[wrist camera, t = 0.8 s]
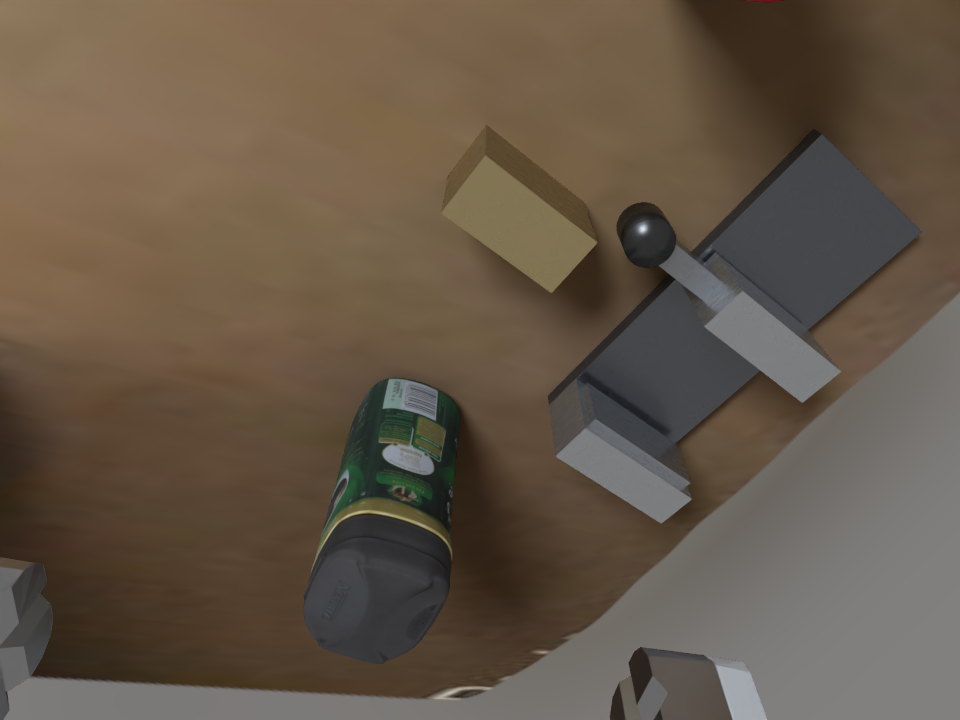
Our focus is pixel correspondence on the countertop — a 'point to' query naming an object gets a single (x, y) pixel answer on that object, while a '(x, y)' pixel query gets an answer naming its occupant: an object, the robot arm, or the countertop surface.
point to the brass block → (518, 210)
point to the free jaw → (730, 304)
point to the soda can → (763, 0)
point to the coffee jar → (387, 526)
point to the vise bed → (698, 352)
